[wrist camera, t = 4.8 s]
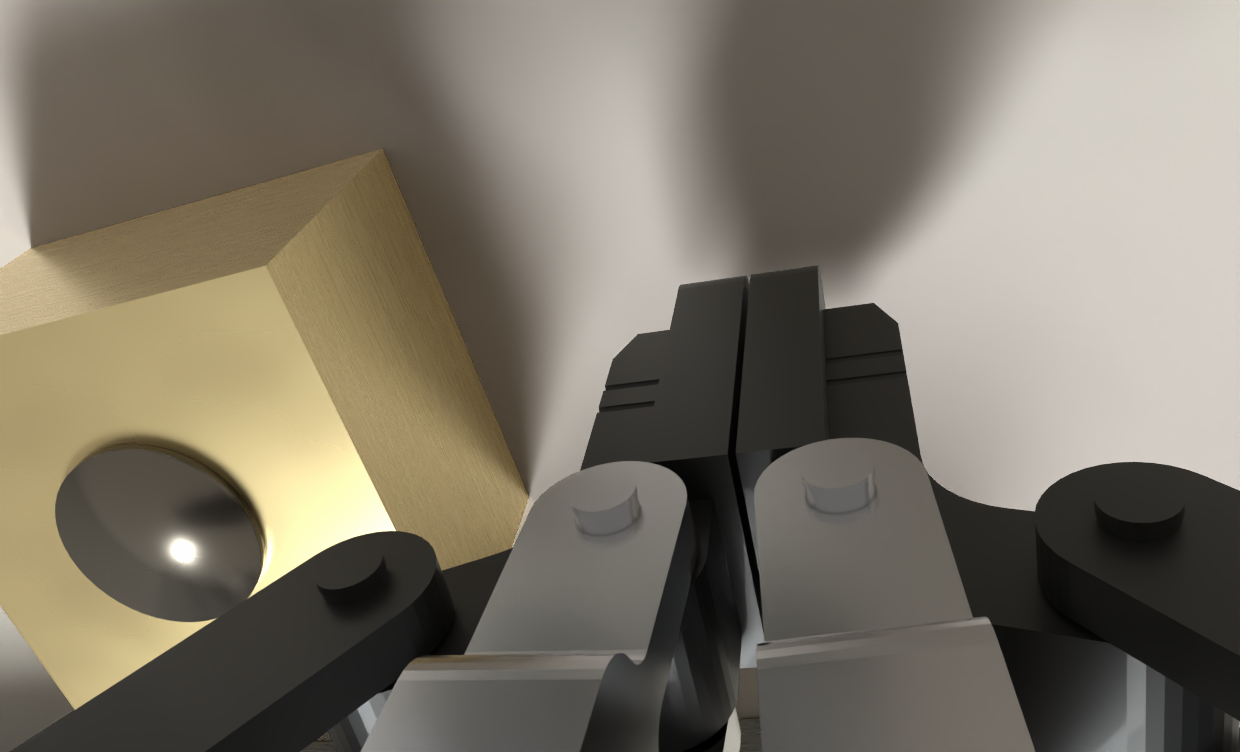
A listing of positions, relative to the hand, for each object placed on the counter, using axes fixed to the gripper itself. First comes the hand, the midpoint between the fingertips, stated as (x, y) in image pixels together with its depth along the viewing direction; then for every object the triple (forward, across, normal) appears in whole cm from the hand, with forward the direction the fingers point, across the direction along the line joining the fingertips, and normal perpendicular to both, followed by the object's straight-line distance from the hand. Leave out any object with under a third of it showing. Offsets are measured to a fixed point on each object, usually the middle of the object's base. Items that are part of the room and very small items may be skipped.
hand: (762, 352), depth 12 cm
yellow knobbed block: (+1, +6, 0) cm, 6 cm away
